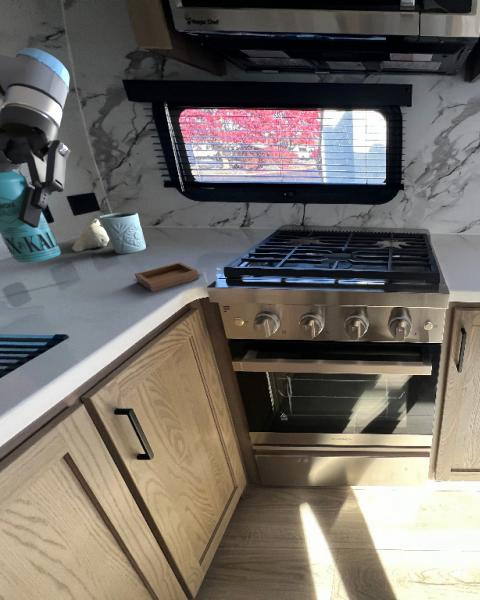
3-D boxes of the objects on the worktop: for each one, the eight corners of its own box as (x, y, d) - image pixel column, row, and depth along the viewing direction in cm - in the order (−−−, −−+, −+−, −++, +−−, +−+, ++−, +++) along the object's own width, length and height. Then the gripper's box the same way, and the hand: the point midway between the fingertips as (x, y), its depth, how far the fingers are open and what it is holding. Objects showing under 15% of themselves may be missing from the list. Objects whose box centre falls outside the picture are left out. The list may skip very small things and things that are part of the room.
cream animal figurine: (100, 258, 113) (124, 223, 119) (73, 246, 108) (100, 210, 113) (90, 264, 122) (113, 231, 128) (65, 253, 117) (89, 219, 123)
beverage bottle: (22, 264, 63) (-42, 150, 55) (68, 256, 67) (15, 148, 58) (16, 273, 59) (-55, 150, 50) (66, 264, 63) (8, 149, 54)
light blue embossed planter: (112, 249, 115) (98, 215, 110) (147, 243, 121) (135, 210, 116) (115, 256, 108) (99, 219, 103) (152, 249, 114) (139, 214, 109)
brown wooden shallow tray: (137, 281, 88) (134, 273, 87) (182, 269, 95) (180, 262, 94) (152, 292, 81) (148, 283, 80) (199, 278, 89) (196, 270, 88)
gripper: (102, 135, 69) (85, 232, 61) (-9, 137, 65) (-41, 239, 58) (73, 103, 61) (50, 208, 54) (-53, 103, 58) (-95, 215, 51)
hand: (3, 224), depth 56 cm, fingers closed on beverage bottle, 7 cm apart
